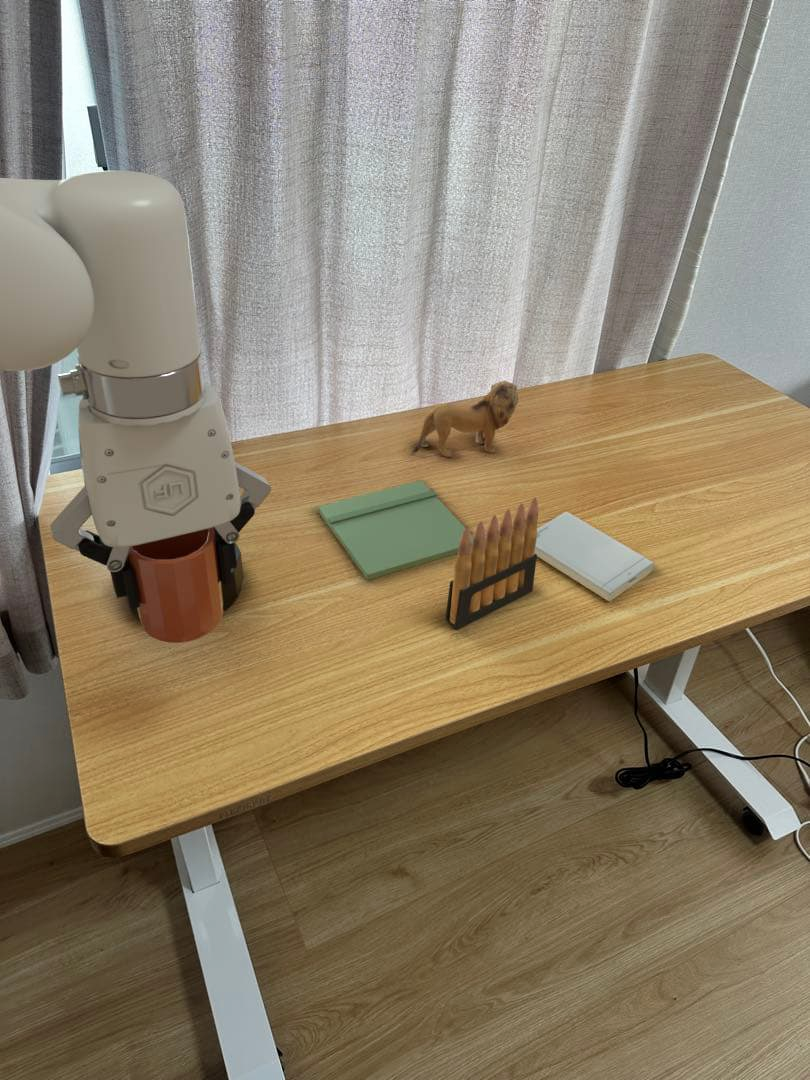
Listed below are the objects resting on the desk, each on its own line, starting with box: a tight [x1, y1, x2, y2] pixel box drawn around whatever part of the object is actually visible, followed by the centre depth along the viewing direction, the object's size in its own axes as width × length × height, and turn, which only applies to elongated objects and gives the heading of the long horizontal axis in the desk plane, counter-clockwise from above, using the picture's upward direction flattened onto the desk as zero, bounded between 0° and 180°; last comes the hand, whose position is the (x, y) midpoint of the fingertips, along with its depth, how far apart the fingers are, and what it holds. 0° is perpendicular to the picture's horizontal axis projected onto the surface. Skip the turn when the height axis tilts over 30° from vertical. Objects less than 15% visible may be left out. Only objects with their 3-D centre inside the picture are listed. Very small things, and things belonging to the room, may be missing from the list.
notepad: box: [317, 479, 474, 581], centre depth 94 cm, size 14×14×1 cm
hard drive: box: [534, 511, 656, 602], centre depth 91 cm, size 2×8×12 cm
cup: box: [127, 528, 224, 644], centre depth 63 cm, size 6×6×8 cm
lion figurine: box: [411, 380, 519, 458], centre depth 107 cm, size 15×5×9 cm, turn 110°
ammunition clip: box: [444, 497, 539, 630], centre depth 81 cm, size 11×2×12 cm, turn 127°
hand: (177, 585), depth 64 cm, fingers closed on cup, 6 cm apart
